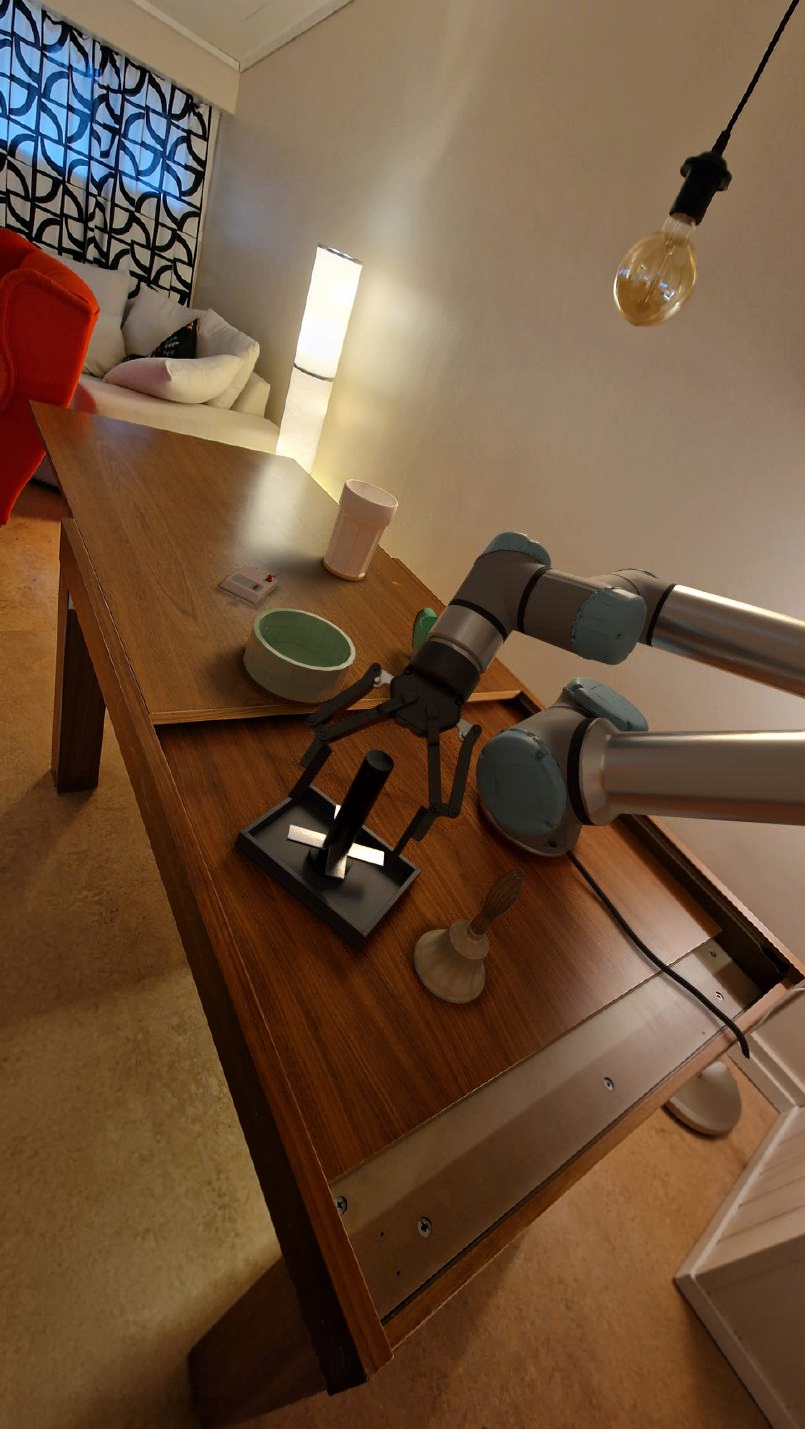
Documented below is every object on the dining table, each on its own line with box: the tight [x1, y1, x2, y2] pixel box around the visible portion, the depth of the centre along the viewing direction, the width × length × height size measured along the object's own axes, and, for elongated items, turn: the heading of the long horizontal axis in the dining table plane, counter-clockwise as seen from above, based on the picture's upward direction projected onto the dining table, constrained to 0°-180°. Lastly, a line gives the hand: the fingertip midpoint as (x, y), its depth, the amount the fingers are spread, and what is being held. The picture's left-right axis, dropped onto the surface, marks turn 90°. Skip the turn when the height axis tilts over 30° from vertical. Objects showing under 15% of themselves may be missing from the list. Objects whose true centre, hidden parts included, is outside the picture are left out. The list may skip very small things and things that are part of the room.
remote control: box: [219, 564, 280, 605], centre depth 111 cm, size 7×16×3 cm, turn 166°
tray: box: [233, 783, 422, 952], centre depth 69 cm, size 17×12×3 cm
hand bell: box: [413, 867, 526, 1005], centre depth 62 cm, size 8×8×16 cm
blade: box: [286, 749, 395, 880], centre depth 65 cm, size 11×10×16 cm
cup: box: [322, 478, 399, 582], centre depth 128 cm, size 11×11×17 cm
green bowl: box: [242, 607, 356, 704], centre depth 94 cm, size 16×16×7 cm
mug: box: [410, 607, 440, 660], centre depth 110 cm, size 15×10×10 cm
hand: (340, 831), depth 63 cm, fingers open, 11 cm apart
